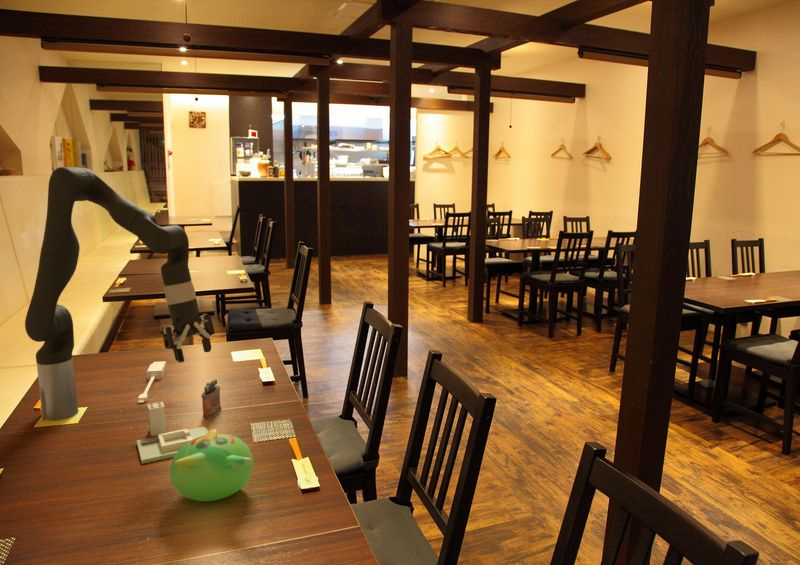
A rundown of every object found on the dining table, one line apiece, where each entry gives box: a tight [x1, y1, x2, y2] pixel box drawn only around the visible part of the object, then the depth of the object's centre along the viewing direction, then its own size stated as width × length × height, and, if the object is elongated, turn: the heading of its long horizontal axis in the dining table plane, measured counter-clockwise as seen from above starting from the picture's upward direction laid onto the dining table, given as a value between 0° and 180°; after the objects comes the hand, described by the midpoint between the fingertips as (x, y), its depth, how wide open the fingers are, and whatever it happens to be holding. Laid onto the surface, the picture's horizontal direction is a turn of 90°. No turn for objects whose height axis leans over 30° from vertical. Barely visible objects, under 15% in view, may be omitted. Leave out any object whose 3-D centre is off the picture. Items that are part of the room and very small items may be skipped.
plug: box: [146, 401, 168, 437], centre depth 164 cm, size 4×4×8 cm
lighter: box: [200, 379, 222, 420], centre depth 176 cm, size 8×3×10 cm, turn 168°
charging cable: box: [137, 361, 167, 404], centre depth 198 cm, size 5×32×3 cm, turn 12°
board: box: [136, 426, 209, 465], centre depth 157 cm, size 18×12×3 cm, turn 119°
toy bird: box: [169, 428, 254, 502], centre depth 133 cm, size 18×17×15 cm
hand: (194, 356), depth 159 cm, fingers open, 8 cm apart
